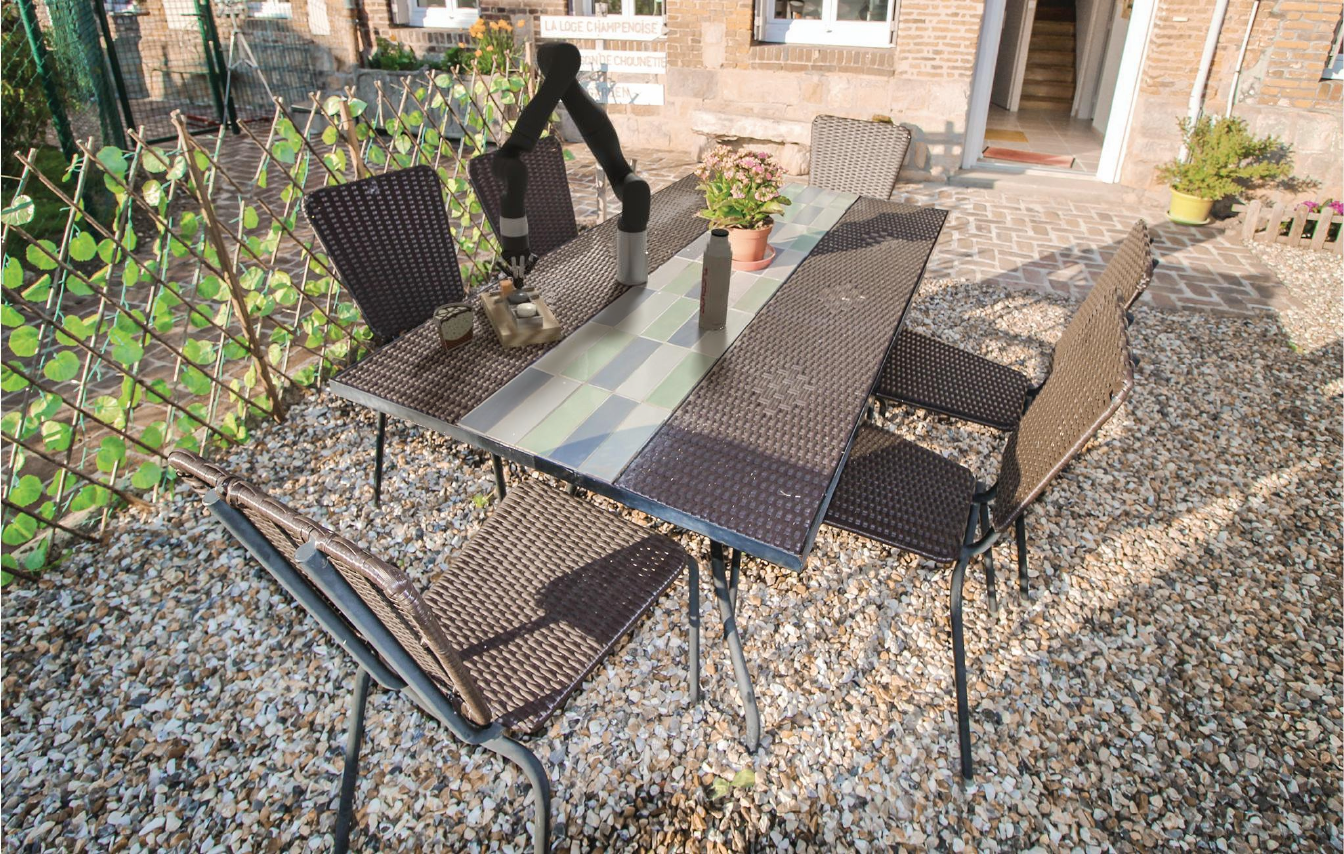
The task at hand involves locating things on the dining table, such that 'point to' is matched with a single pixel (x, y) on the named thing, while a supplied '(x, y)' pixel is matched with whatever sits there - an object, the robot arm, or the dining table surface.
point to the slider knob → (506, 287)
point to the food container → (454, 324)
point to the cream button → (526, 310)
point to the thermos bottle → (715, 280)
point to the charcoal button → (518, 296)
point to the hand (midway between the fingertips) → (518, 288)
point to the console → (520, 319)
